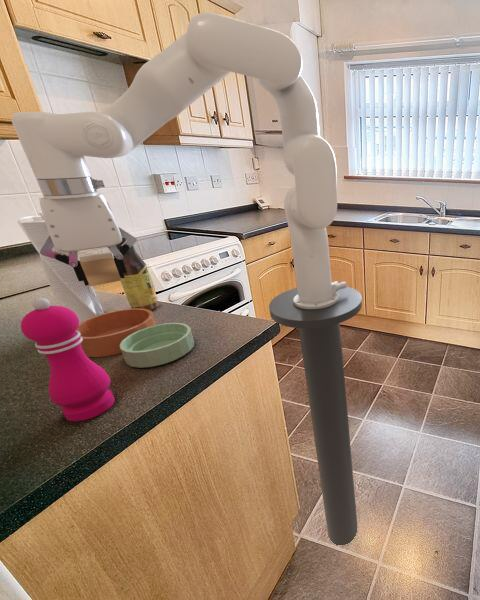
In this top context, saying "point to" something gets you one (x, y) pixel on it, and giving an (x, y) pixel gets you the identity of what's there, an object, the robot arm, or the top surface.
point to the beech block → (100, 269)
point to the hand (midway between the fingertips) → (104, 279)
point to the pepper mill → (67, 362)
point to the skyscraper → (62, 274)
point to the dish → (157, 345)
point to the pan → (112, 330)
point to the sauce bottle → (137, 281)
